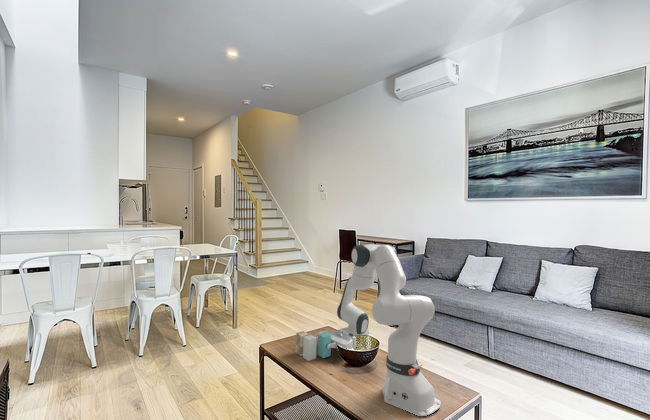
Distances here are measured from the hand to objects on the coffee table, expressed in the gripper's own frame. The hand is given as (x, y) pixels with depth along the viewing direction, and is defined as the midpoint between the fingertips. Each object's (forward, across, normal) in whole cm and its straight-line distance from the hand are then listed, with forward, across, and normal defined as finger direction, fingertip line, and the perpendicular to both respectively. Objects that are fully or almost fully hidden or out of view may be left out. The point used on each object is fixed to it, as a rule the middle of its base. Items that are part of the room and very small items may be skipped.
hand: (322, 344), depth 162 cm
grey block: (+6, -3, +6) cm, 9 cm away
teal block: (-1, 0, +6) cm, 6 cm away
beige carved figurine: (+6, -9, +6) cm, 12 cm away
